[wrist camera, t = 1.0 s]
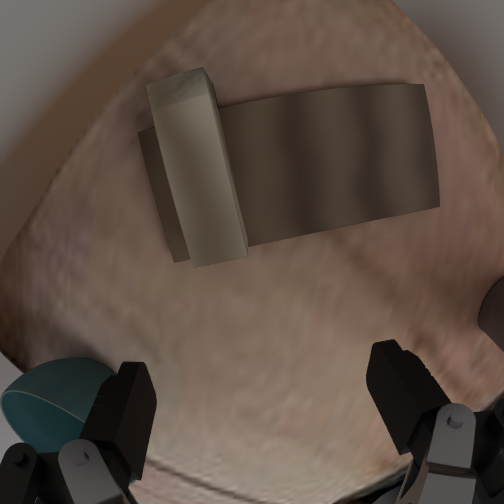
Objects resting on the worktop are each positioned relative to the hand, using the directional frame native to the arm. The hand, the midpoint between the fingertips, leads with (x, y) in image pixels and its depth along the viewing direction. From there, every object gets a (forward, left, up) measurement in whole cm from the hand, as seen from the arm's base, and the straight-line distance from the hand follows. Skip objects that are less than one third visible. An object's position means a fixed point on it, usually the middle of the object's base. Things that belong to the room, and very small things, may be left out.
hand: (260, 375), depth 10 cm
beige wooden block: (+3, -6, -19) cm, 20 cm away
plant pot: (+26, +16, -20) cm, 36 cm away
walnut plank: (-5, -5, -19) cm, 21 cm away
